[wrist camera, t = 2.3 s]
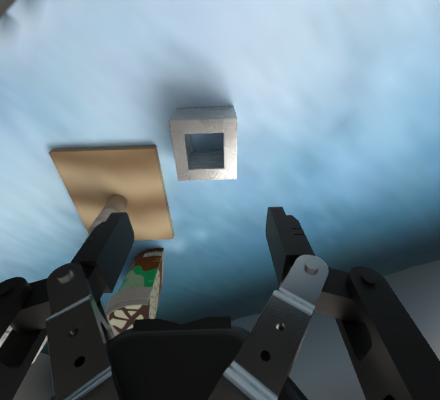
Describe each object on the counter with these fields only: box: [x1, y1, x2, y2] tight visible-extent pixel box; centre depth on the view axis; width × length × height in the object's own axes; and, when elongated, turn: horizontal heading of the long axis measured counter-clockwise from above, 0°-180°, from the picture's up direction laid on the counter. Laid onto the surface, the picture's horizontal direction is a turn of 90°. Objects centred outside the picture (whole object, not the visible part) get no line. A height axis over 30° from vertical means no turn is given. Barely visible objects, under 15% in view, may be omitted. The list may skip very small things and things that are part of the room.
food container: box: [106, 248, 164, 336], centre depth 34 cm, size 12×6×10 cm, turn 171°
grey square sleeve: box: [169, 106, 237, 181], centre depth 23 cm, size 6×6×5 cm
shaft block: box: [49, 146, 174, 242], centre depth 26 cm, size 14×12×8 cm
